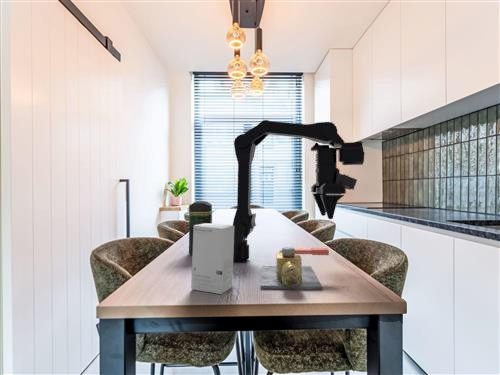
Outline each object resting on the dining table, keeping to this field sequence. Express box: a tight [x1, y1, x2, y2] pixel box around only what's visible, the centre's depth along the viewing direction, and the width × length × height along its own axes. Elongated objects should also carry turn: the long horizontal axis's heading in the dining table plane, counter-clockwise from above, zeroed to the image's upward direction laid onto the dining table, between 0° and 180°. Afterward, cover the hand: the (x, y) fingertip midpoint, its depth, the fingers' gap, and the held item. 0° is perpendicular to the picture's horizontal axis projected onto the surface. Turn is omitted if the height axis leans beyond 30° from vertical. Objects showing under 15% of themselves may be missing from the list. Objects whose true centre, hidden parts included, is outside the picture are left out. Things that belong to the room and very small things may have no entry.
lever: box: [281, 246, 330, 256], centre depth 72 cm, size 12×3×2 cm, turn 86°
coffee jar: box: [188, 200, 213, 256], centre depth 100 cm, size 10×8×19 cm
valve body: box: [260, 249, 323, 291], centre depth 73 cm, size 18×14×6 cm
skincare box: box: [190, 223, 234, 295], centre depth 66 cm, size 8×6×15 cm
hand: (326, 217), depth 85 cm, fingers open, 9 cm apart
